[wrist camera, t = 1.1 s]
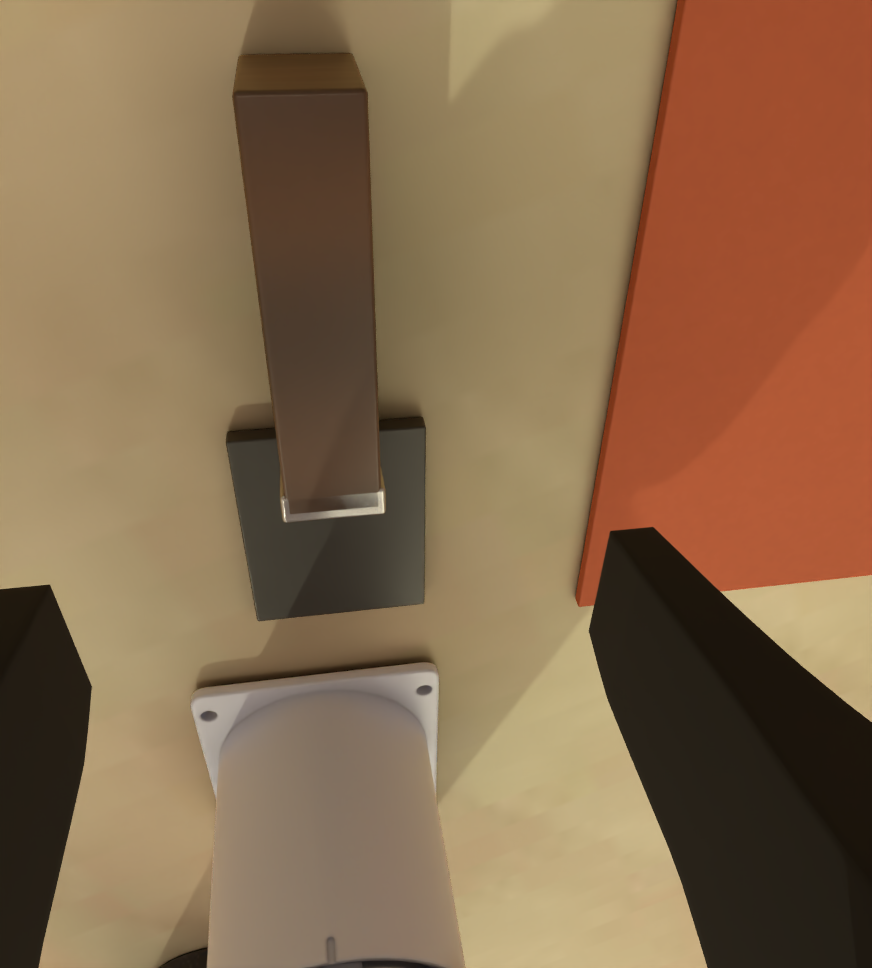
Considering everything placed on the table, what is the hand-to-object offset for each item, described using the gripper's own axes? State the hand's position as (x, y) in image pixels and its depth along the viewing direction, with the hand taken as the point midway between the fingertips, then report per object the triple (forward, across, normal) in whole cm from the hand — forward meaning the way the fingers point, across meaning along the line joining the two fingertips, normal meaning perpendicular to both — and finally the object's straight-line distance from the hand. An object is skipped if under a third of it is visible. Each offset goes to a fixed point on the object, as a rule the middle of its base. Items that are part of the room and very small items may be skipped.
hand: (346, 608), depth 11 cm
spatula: (+10, 0, +2) cm, 10 cm away
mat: (+10, -14, +1) cm, 17 cm away
